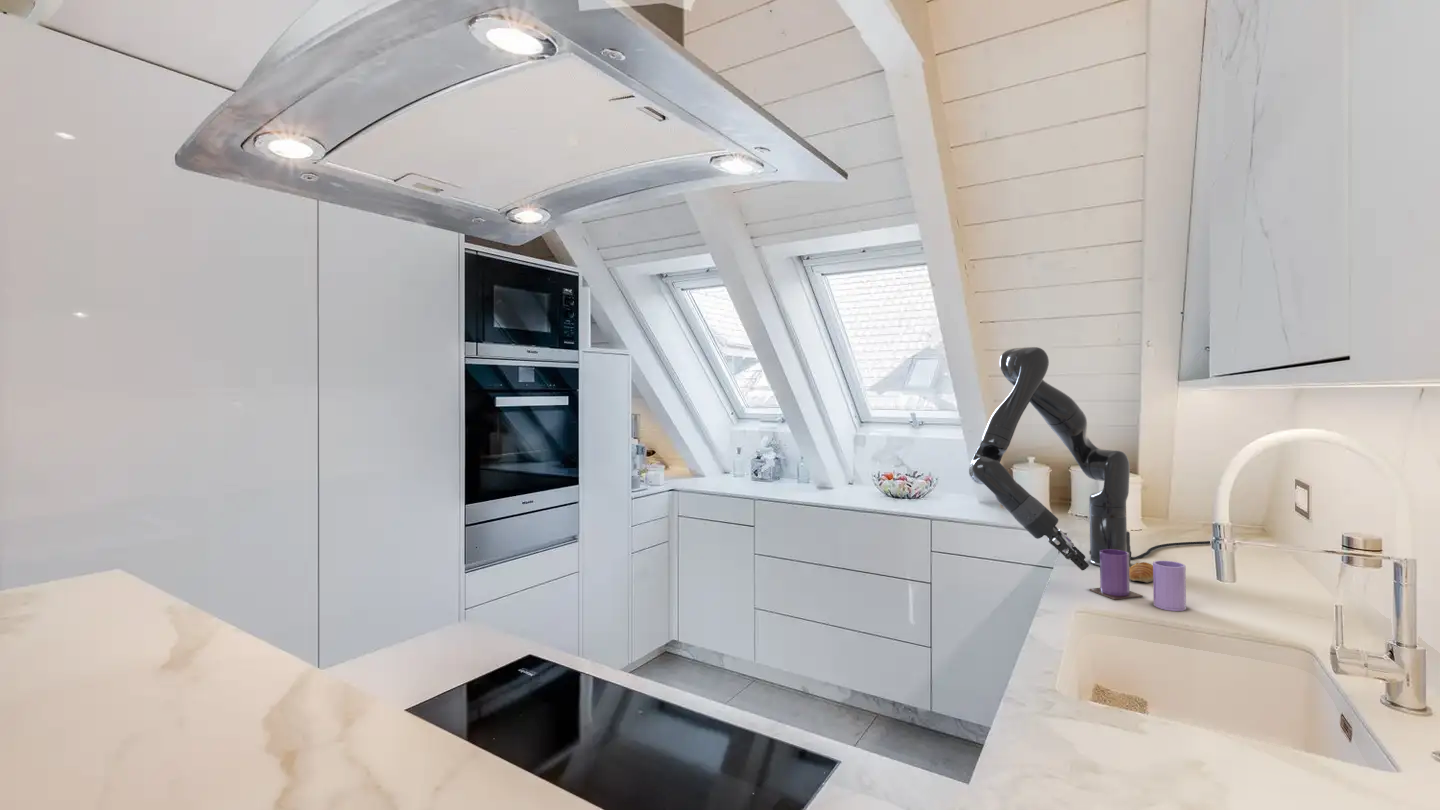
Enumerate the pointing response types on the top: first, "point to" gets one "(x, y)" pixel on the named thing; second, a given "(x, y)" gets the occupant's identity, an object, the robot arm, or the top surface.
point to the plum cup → (1114, 572)
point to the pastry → (1141, 572)
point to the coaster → (1131, 595)
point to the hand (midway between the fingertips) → (1084, 563)
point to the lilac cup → (1169, 585)
